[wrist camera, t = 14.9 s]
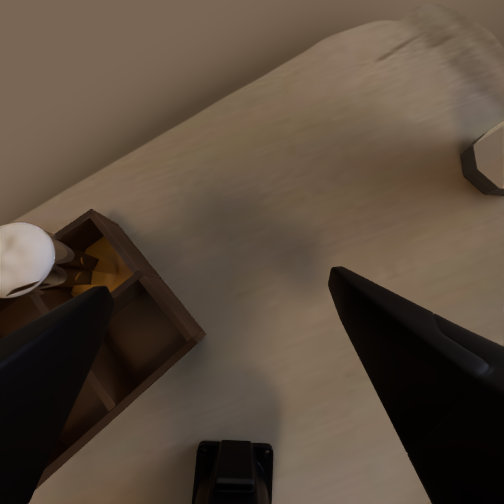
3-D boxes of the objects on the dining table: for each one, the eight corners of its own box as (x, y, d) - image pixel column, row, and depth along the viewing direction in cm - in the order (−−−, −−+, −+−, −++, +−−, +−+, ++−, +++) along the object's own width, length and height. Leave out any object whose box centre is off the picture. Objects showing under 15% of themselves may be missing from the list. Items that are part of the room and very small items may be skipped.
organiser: (206, 334, 20) (197, 342, 17) (69, 457, 18) (21, 502, 14) (117, 223, 22) (91, 208, 18) (-18, 321, 20) (-82, 327, 16)
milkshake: (103, 313, 20) (-33, 330, 10) (65, 275, 20) (-99, 256, 11) (140, 277, 21) (47, 259, 11) (103, 241, 21) (-17, 194, 11)
